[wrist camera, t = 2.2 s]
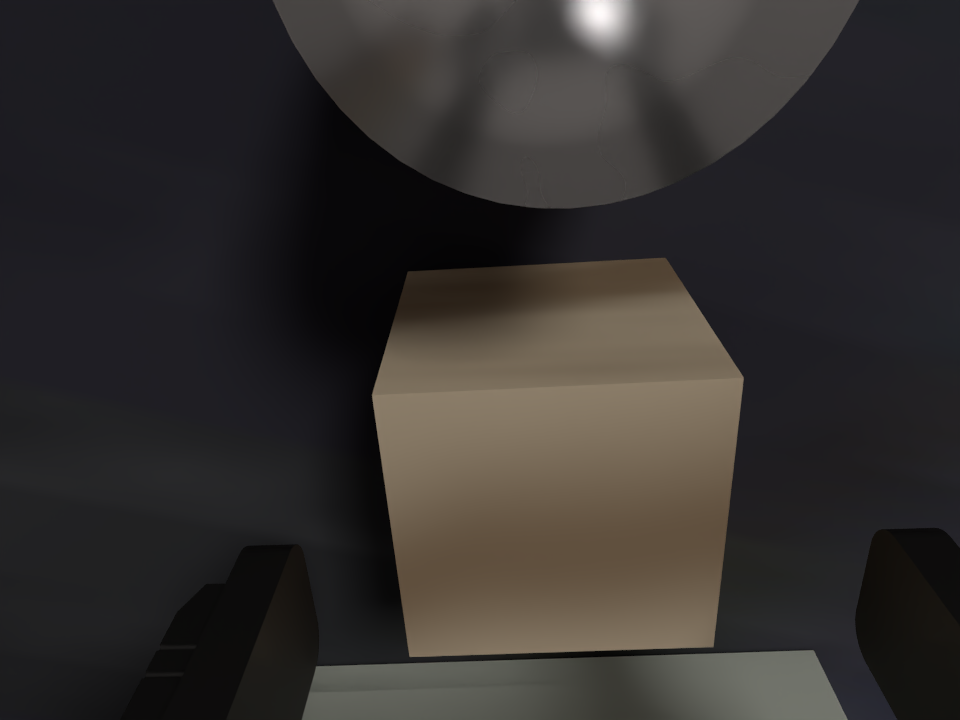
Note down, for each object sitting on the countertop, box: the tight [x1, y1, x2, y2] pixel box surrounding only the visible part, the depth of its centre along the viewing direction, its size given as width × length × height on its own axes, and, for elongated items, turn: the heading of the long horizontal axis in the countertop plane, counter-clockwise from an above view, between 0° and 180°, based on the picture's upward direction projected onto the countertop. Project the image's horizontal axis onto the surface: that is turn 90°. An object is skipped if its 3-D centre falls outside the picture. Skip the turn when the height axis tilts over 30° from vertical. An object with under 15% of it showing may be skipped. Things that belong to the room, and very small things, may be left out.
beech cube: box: [372, 258, 744, 657], centre depth 13 cm, size 5×5×5 cm
